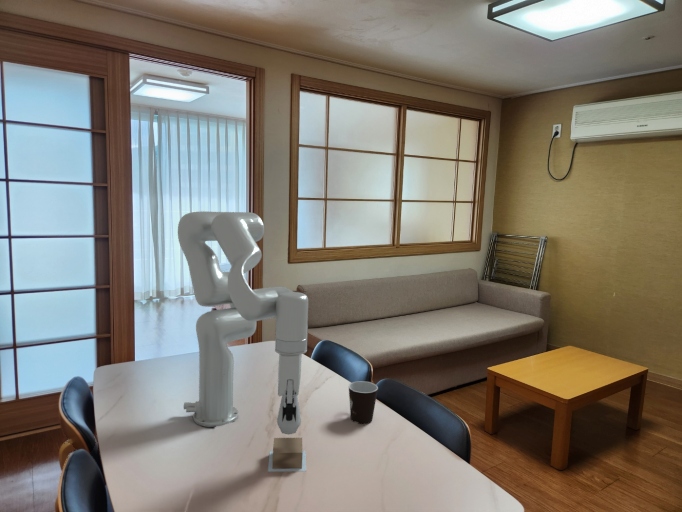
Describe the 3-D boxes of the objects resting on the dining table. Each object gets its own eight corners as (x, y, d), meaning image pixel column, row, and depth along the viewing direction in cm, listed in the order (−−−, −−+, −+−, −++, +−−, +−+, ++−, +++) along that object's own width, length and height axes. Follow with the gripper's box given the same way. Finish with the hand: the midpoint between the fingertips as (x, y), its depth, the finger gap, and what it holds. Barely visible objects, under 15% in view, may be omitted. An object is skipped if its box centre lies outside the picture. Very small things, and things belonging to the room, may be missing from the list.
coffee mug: (374, 427, 134) (375, 394, 132) (344, 423, 135) (346, 390, 134) (378, 410, 145) (380, 379, 144) (351, 406, 147) (353, 376, 145)
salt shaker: (277, 424, 116) (278, 374, 114) (300, 424, 116) (302, 374, 115) (276, 436, 110) (277, 383, 109) (300, 436, 111) (302, 383, 109)
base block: (272, 468, 110) (272, 452, 110) (273, 452, 117) (274, 437, 117) (301, 468, 111) (302, 452, 111) (301, 452, 118) (302, 437, 117)
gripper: (276, 334, 118) (274, 404, 120) (273, 355, 102) (271, 435, 104) (306, 335, 119) (304, 404, 121) (308, 355, 103) (305, 435, 105)
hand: (289, 417), depth 113 cm, fingers closed on salt shaker, 3 cm apart
